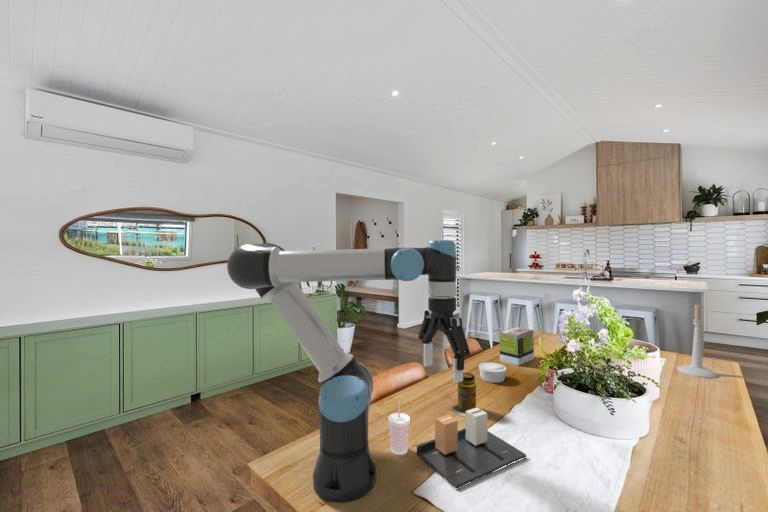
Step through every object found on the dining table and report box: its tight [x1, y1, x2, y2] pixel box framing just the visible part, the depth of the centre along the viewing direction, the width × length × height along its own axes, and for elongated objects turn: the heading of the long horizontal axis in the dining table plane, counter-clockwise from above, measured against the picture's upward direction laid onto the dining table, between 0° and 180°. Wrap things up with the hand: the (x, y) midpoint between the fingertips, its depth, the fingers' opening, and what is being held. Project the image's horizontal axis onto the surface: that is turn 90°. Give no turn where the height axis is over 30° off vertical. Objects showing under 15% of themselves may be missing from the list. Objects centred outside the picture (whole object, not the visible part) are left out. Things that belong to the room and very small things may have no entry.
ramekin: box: [478, 362, 507, 384], centre depth 148 cm, size 11×11×5 cm
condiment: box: [448, 372, 477, 418], centre depth 121 cm, size 7×8×12 cm
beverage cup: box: [387, 399, 411, 456], centre depth 97 cm, size 6×6×14 cm
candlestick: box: [677, 304, 718, 379], centre depth 152 cm, size 13×13×30 cm
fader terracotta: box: [434, 414, 459, 455], centre depth 95 cm, size 4×4×8 cm
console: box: [416, 427, 527, 489], centre depth 94 cm, size 24×16×2 cm, turn 119°
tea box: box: [499, 326, 535, 367], centre depth 171 cm, size 15×10×15 cm
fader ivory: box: [465, 407, 488, 446], centre depth 99 cm, size 4×4×8 cm
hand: (442, 373), depth 97 cm, fingers open, 13 cm apart
